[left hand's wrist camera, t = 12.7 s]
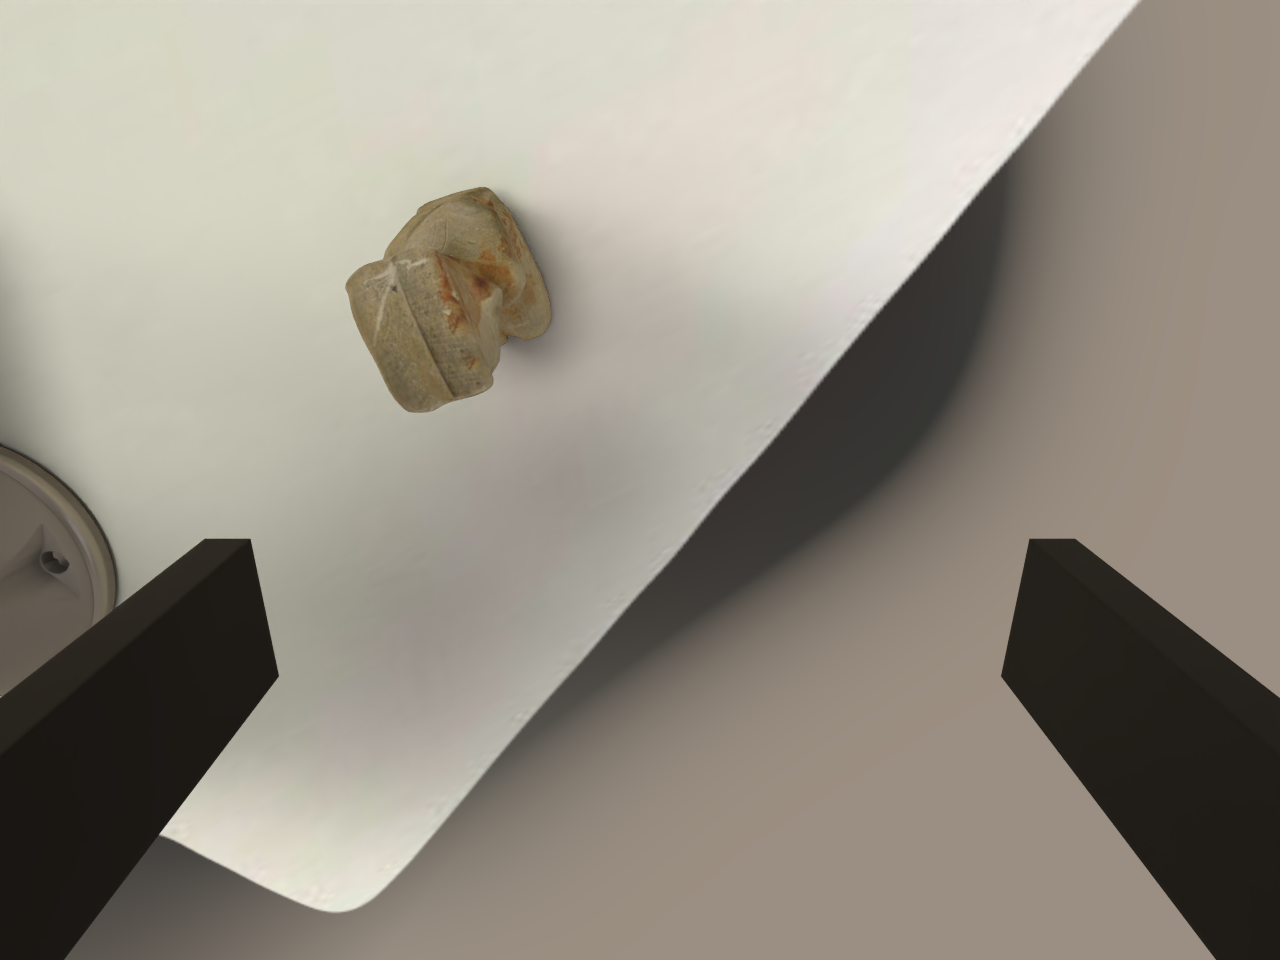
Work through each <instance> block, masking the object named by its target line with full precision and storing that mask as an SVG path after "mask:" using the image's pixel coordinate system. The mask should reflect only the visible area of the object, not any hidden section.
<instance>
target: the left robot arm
mask: <svg viewBox="0 0 1280 960" xmlns="http://www.w3.org/2000/svg"><path fill="white" fill-rule="evenodd" d="M115 588H116V585H115V574H114V569H113V563H112V560H111V557H110V553H109V551H108V548H107V546H106V543H105V541H104V539H103V537H102V535H101V533H100V531H99V529H98V527H97V526H96V524H95V523H94V521H93V520H92V518H91V516H90V515H89V514H88V513H87V511H86V510H85V509H84V507H83V506H82V505H81V504H80V502H79V501H78V500H77V499H76V498H75V497H74V496H73V495H72V494H71V493H70V492H69V491H68V490H67V489H66V488H65V487H64V486H63V485H62V484H61V483H60V482H59V481H57V480H56V479H55V478H54V477H52V476H51V475H50V474H49V473H47V472H46V471H44V470H43V469H42V468H40V467H39V466H37V465H36V464H34V463H33V462H31V461H29V460H28V459H26V458H24V457H23V456H21V455H19V454H17V453H15V452H13V451H11V450H9V449H6V448H4V447H2V446H0V696H2V697H1V698H0V960H64V959H65V958H66V956H67V955H68V954H69V952H70V951H71V950H72V948H73V947H74V946H75V944H76V943H77V942H78V941H79V939H80V938H81V937H82V935H83V934H84V933H85V931H86V930H87V929H88V927H89V926H90V925H91V923H92V922H93V921H94V919H95V918H96V917H97V915H98V914H99V913H100V912H101V910H102V909H103V908H104V906H105V905H106V904H107V902H108V901H109V900H110V898H111V897H112V896H113V894H114V893H115V892H116V890H117V889H118V888H119V886H120V885H121V884H122V883H123V881H124V880H125V879H126V877H127V876H128V875H129V873H130V872H131V871H132V869H133V868H134V867H135V865H136V864H137V863H138V861H139V860H140V859H141V857H142V856H143V855H144V854H145V852H146V851H147V850H148V848H149V847H150V846H151V844H152V843H153V842H154V840H155V839H156V838H157V836H158V835H159V834H160V832H161V831H162V830H163V828H164V827H165V826H166V825H167V823H168V822H169V821H170V819H171V818H172V817H173V815H174V814H175V813H176V811H177V810H178V809H179V807H180V806H181V805H182V803H183V802H184V801H185V799H186V798H187V797H188V796H189V794H190V793H191V792H192V790H193V789H194V788H195V786H196V785H197V784H198V782H199V781H200V780H201V778H202V777H203V776H204V774H205V773H206V772H207V770H208V769H209V768H210V767H211V765H212V764H213V763H214V761H215V760H216V759H217V757H218V756H219V755H220V753H221V752H222V751H223V749H224V748H225V747H226V745H227V744H228V743H229V741H230V740H231V739H232V738H233V736H234V735H235V734H236V732H237V731H238V730H239V728H240V727H241V726H242V724H243V723H244V722H245V720H246V719H247V718H248V716H249V715H250V714H251V712H252V711H253V710H254V709H255V707H256V706H257V705H258V703H259V702H260V701H261V699H262V698H263V697H264V695H265V694H266V693H267V691H268V690H269V689H270V687H271V686H272V685H273V683H274V682H275V681H276V679H277V678H278V677H279V674H278V669H277V665H276V660H275V655H274V650H273V645H272V641H271V636H270V631H269V626H268V621H267V616H266V612H265V607H264V602H263V597H262V592H261V587H260V583H259V578H258V573H257V568H256V563H255V559H254V554H253V549H252V544H251V539H204V540H203V541H201V542H200V543H199V544H198V545H196V546H195V547H194V548H192V549H191V550H190V551H189V552H187V553H186V554H185V555H183V556H182V557H181V558H180V559H178V560H177V561H176V562H174V563H173V564H172V565H171V566H169V567H168V568H167V569H165V570H164V571H163V572H162V573H160V574H159V575H158V576H156V577H155V578H154V579H153V580H151V581H150V582H149V583H147V584H146V585H145V586H144V587H142V588H141V589H140V590H139V591H137V592H136V593H135V594H133V595H132V596H131V597H130V598H128V599H127V600H126V601H124V602H123V603H122V604H121V605H119V606H118V607H117V608H115V609H114V610H113V607H114V601H115ZM1001 677H1002V678H1003V680H1004V681H1005V682H1006V683H1007V685H1008V686H1009V687H1010V689H1011V690H1012V691H1013V693H1014V694H1015V695H1016V697H1017V698H1018V699H1019V701H1020V702H1021V703H1022V704H1023V706H1024V707H1025V708H1026V710H1027V711H1028V712H1029V714H1030V715H1031V716H1032V718H1033V719H1034V720H1035V722H1036V723H1037V724H1038V726H1039V727H1040V728H1041V730H1042V731H1043V732H1044V734H1045V735H1046V736H1047V737H1048V739H1049V740H1050V741H1051V743H1052V744H1053V745H1054V747H1055V748H1056V749H1057V751H1058V752H1059V753H1060V755H1061V756H1062V757H1063V759H1064V760H1065V761H1066V763H1067V764H1068V765H1069V766H1070V768H1071V769H1072V770H1073V772H1074V773H1075V774H1076V776H1077V777H1078V778H1079V780H1080V781H1081V782H1082V784H1083V785H1084V786H1085V787H1086V789H1087V790H1088V792H1089V793H1090V794H1091V795H1092V797H1093V798H1094V799H1095V801H1096V802H1097V803H1098V805H1099V806H1100V807H1101V809H1102V810H1103V811H1104V813H1105V814H1106V815H1107V817H1108V818H1109V819H1110V821H1111V822H1112V823H1113V825H1114V826H1115V827H1116V828H1117V830H1118V831H1119V832H1120V834H1121V835H1122V836H1123V838H1124V839H1125V840H1126V842H1127V843H1128V844H1129V846H1130V847H1131V848H1132V850H1133V851H1134V852H1135V854H1136V855H1137V856H1138V857H1139V859H1140V860H1141V861H1142V863H1143V864H1144V865H1145V867H1146V868H1147V869H1148V871H1149V872H1150V873H1151V875H1152V876H1153V877H1154V879H1155V880H1156V881H1157V883H1158V884H1159V885H1160V886H1161V888H1162V889H1163V890H1164V892H1165V893H1166V894H1167V896H1168V897H1169V898H1170V900H1171V901H1172V902H1173V904H1174V905H1175V906H1176V907H1177V909H1178V910H1179V912H1180V913H1181V914H1182V915H1183V917H1184V918H1185V919H1186V921H1187V922H1188V923H1189V925H1190V926H1191V927H1192V929H1193V930H1194V931H1195V933H1196V934H1197V935H1198V937H1199V938H1200V939H1201V941H1202V942H1203V943H1204V944H1205V946H1206V947H1207V948H1208V950H1209V951H1210V952H1211V954H1212V955H1213V956H1214V958H1215V959H1216V960H1280V698H1279V697H1278V696H1276V695H1275V694H1274V693H1272V692H1271V691H1270V690H1269V689H1267V688H1266V687H1265V686H1264V685H1262V684H1261V683H1260V682H1258V681H1257V680H1256V679H1255V678H1253V677H1252V676H1251V675H1249V674H1248V673H1247V672H1246V671H1244V670H1243V669H1242V668H1240V667H1239V666H1238V665H1237V664H1235V663H1234V662H1233V661H1231V660H1230V659H1229V658H1228V657H1226V656H1225V655H1224V654H1222V653H1221V652H1220V651H1219V650H1217V649H1216V648H1215V647H1213V646H1212V645H1211V644H1210V643H1208V642H1207V641H1206V640H1204V639H1203V638H1202V637H1201V636H1199V635H1198V634H1197V633H1195V632H1194V631H1193V630H1192V629H1190V628H1189V627H1188V626H1186V625H1185V624H1184V623H1183V622H1181V621H1180V620H1179V619H1177V618H1176V617H1175V616H1174V615H1172V614H1171V613H1170V612H1168V611H1167V610H1166V609H1165V608H1163V607H1162V606H1161V605H1159V604H1158V603H1157V602H1156V601H1154V600H1153V599H1152V598H1150V597H1149V596H1148V595H1147V594H1145V593H1144V592H1143V591H1141V590H1140V589H1139V588H1138V587H1136V586H1135V585H1134V584H1132V583H1131V582H1130V581H1129V580H1127V579H1126V578H1125V577H1124V576H1122V575H1121V574H1120V573H1118V572H1117V571H1116V570H1114V569H1113V568H1112V567H1111V566H1109V565H1108V564H1107V563H1105V562H1104V561H1103V560H1102V559H1100V558H1099V557H1098V556H1097V555H1095V554H1094V553H1093V552H1091V551H1090V550H1089V549H1088V548H1086V547H1085V546H1084V545H1082V544H1081V543H1080V542H1079V541H1077V540H1076V539H1029V544H1028V549H1027V554H1026V559H1025V563H1024V568H1023V573H1022V578H1021V583H1020V587H1019V592H1018V597H1017V602H1016V607H1015V612H1014V616H1013V621H1012V626H1011V631H1010V636H1009V641H1008V645H1007V650H1006V655H1005V660H1004V665H1003V669H1002V674H1001ZM3 695H4V696H3Z"/></svg>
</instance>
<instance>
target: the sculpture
mask: <svg viewBox="0 0 1280 960" xmlns="http://www.w3.org/2000/svg"><path fill="white" fill-rule="evenodd" d="M345 289H346V291H347V292H348V295H349V300H350V305H351V310H352V313H353V317H354V319H355V322H356V324H357V327H358V329H359V331H360V334H361V336H362V338H363V340H364V342H365V344H366V345H367V347H368V349H369V351H370V353H371V355H372V357H373V358H374V360H375V362H376V364H377V366H378V368H379V370H380V373H381V375H382V377H383V379H384V381H385V383H386V385H387V387H388V389H389V391H390V393H391V394H392V396H393V397H394V399H395V400H396V401H397V402H398V403H399V404H400V405H401V406H402V407H403V408H404V409H405V410H406V411H408V412H415V413H422V412H429V411H433V410H435V409H437V408H439V407H441V406H442V405H444V404H447V403H449V402H452V401H455V400H459V399H463V398H468V397H472V396H475V395H478V394H480V393H482V392H485V391H487V390H488V389H489V388H490V387H491V386H492V384H493V377H492V373H493V371H494V370H495V368H496V366H497V364H498V362H499V359H500V346H502V345H503V344H504V343H505V342H506V341H507V339H508V335H512V336H516V337H518V338H520V339H522V340H529V339H532V338H535V337H538V336H540V335H542V334H543V333H544V332H545V330H546V329H547V328H548V326H549V324H550V320H551V307H550V302H549V297H548V294H547V291H546V288H545V285H544V282H543V279H542V277H541V274H540V272H539V270H538V268H537V265H536V263H535V261H534V259H533V257H532V255H531V253H530V251H529V249H528V247H527V245H526V243H525V241H524V239H523V237H522V235H521V233H520V231H519V229H518V227H517V226H516V224H515V222H514V220H513V218H512V216H511V214H510V212H509V210H508V209H507V207H506V206H505V204H504V203H502V202H501V201H500V200H499V198H498V197H497V196H496V195H495V194H494V193H493V192H492V191H491V190H490V189H489V188H486V187H479V188H474V189H470V190H465V191H461V192H457V193H454V194H451V195H448V196H445V197H442V198H439V199H436V200H433V201H430V202H428V203H426V204H424V205H423V206H421V207H420V208H419V209H418V211H417V214H416V215H415V216H414V217H412V218H411V219H410V220H409V221H408V223H407V224H406V225H405V226H404V227H403V228H402V230H401V231H400V232H399V233H398V234H397V236H396V237H395V238H394V239H393V241H392V242H391V243H390V244H389V246H388V248H387V249H386V251H385V254H384V258H383V260H380V261H376V262H373V263H369V264H367V265H364V266H363V267H361V268H359V269H358V270H357V271H356V272H355V273H354V274H353V275H352V276H351V277H350V278H349V279H348V281H347V283H346V287H345Z"/></svg>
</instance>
